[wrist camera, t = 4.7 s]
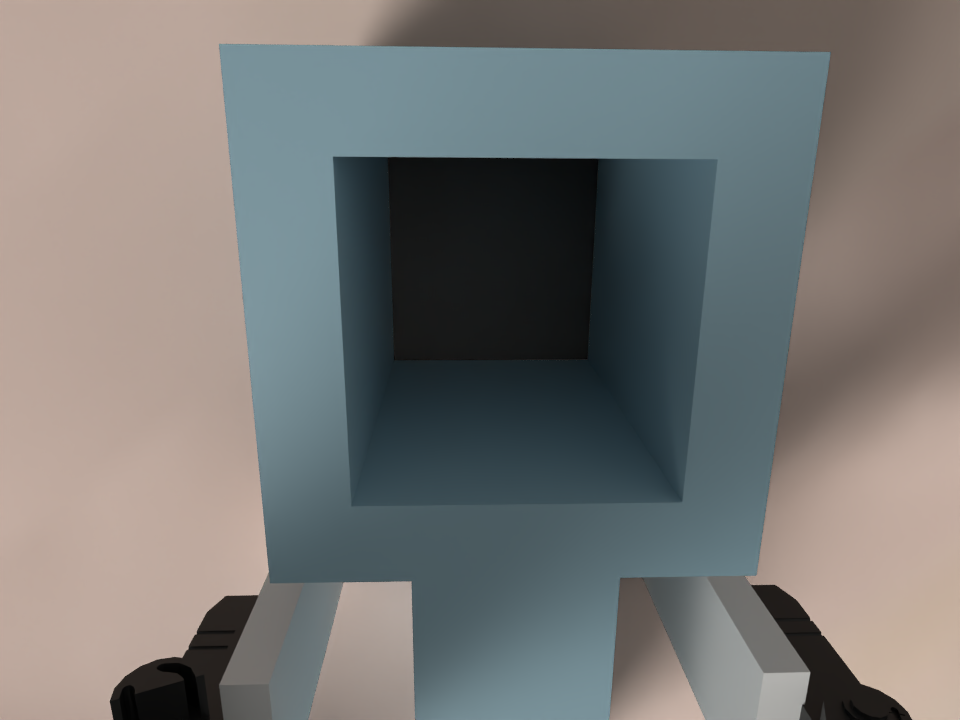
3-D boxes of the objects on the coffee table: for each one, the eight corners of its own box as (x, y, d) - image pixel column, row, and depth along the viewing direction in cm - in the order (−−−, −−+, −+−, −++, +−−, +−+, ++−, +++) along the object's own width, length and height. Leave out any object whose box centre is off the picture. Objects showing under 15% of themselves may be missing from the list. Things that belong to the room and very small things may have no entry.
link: (328, 97, 14) (219, 43, 8) (657, 100, 15) (830, 52, 8) (365, 781, 20) (319, 1106, 13) (605, 775, 20) (683, 1089, 13)
